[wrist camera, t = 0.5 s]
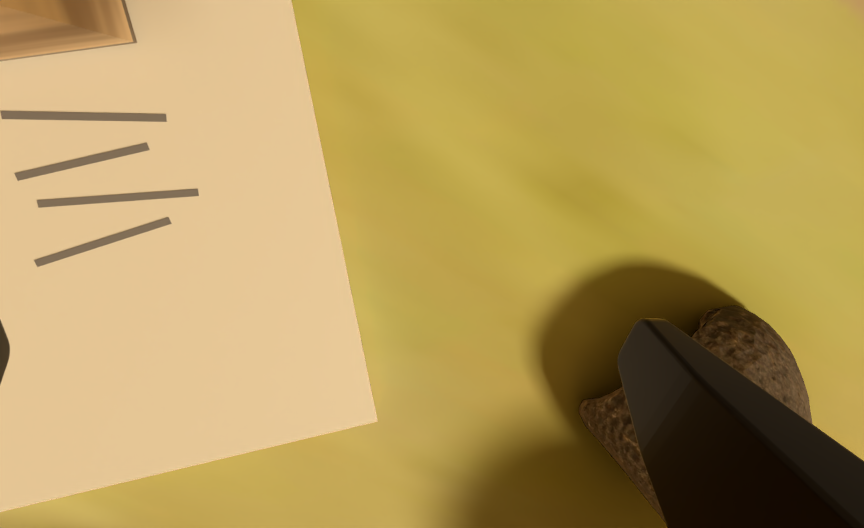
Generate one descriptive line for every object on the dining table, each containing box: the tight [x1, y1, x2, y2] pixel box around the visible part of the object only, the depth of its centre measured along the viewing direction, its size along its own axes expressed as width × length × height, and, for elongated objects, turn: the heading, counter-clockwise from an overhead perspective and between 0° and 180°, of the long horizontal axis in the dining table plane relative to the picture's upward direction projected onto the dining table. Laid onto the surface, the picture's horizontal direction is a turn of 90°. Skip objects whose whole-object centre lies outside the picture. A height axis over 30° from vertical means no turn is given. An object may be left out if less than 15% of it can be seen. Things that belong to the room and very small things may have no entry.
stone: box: [579, 306, 812, 523], centre depth 25 cm, size 10×8×10 cm
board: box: [0, 0, 377, 512], centre depth 18 cm, size 22×14×1 cm, turn 8°
